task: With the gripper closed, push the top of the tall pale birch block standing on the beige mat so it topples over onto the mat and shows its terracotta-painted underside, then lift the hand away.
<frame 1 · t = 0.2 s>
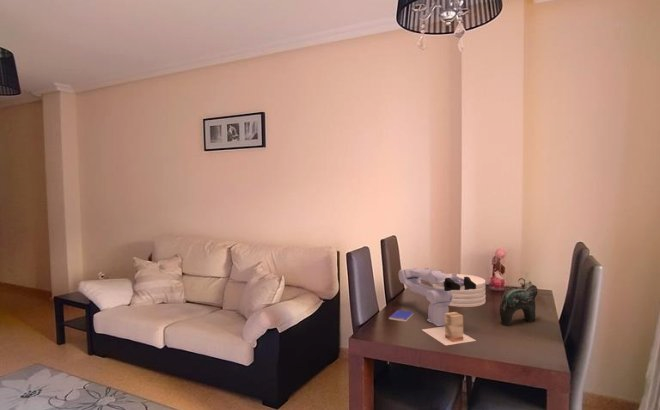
hand: (467, 287, 153), 21 cm above the table, tool horizontal, fingers open, 7 cm apart
green elephant figurine: (519, 322, 171), on the table
plate stack: (458, 300, 210), on the table
birch block: (454, 338, 152), point 1 cm above the table, touching beige mat
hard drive: (401, 317, 183), on the table
beige mat: (447, 336, 157), on the table
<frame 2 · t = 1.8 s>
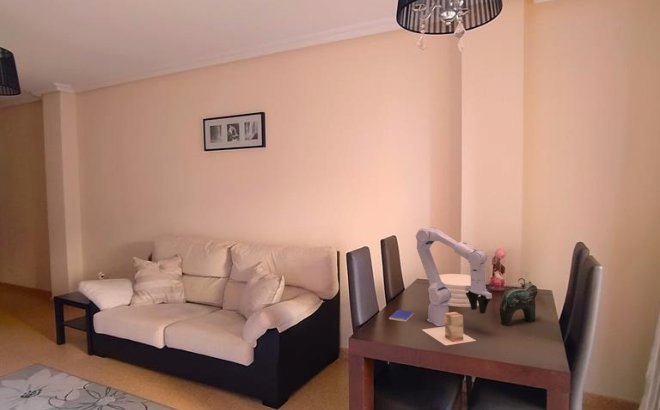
hand: (478, 311, 159), 9 cm above the table, tool pointing down, fingers open, 5 cm apart
nothing on the table moved.
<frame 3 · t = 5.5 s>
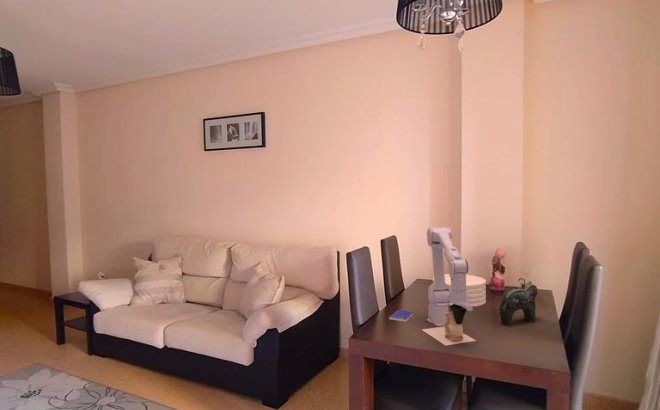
hand: (458, 323, 149), 8 cm above the table, tool pointing down, fingers closed
nothing on the table moved.
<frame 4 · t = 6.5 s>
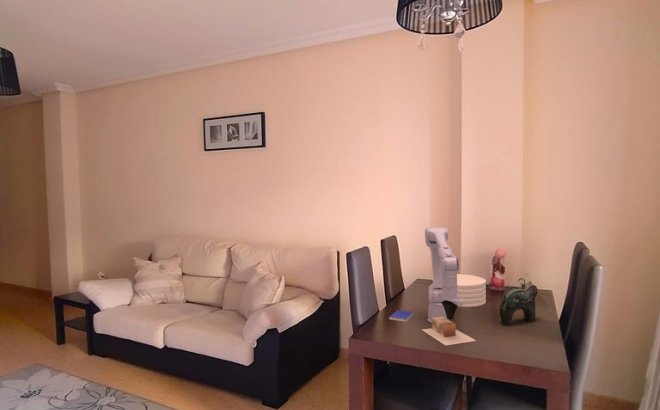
hand: (450, 319, 155), 8 cm above the table, tool pointing down, fingers closed
birch block: (450, 330, 155), point 3 cm above the table, tilted 90°, touching beige mat
everything else where it was.
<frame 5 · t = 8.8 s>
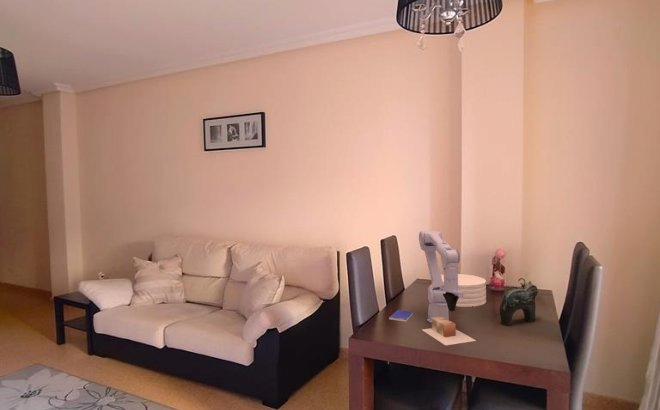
hand: (451, 310, 159), 10 cm above the table, tool pointing down, fingers closed
nothing on the table moved.
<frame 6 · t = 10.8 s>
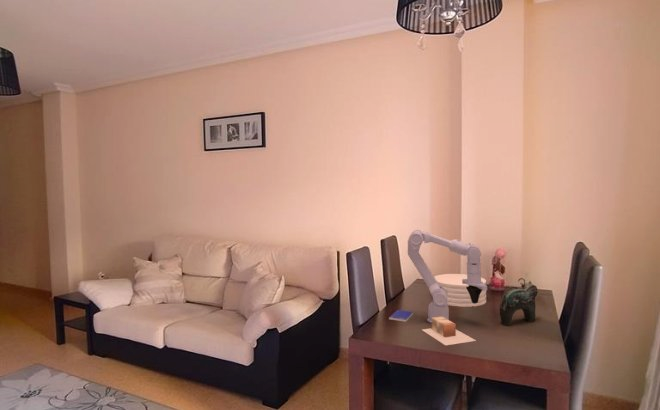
hand: (474, 302, 168), 10 cm above the table, tool pointing down, fingers closed
nothing on the table moved.
at the end: birch block tilted 90°; birch block inside the target area (0.5 cm from its centre), point 3.1 cm above the table; birch block touching beige mat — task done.
